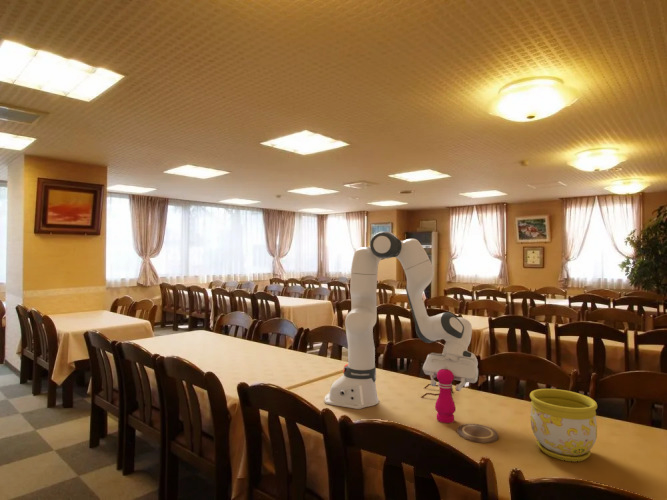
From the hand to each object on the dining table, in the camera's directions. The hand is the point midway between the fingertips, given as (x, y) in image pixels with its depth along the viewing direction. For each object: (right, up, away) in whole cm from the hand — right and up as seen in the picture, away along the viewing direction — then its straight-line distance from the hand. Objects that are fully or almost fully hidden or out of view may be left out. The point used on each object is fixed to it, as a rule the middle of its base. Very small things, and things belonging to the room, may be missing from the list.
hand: (445, 387), depth 147 cm
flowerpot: (+29, -11, -24) cm, 40 cm away
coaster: (+8, -11, -12) cm, 18 cm away
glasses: (+4, -13, +28) cm, 31 cm away
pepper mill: (0, -12, 0) cm, 12 cm away
